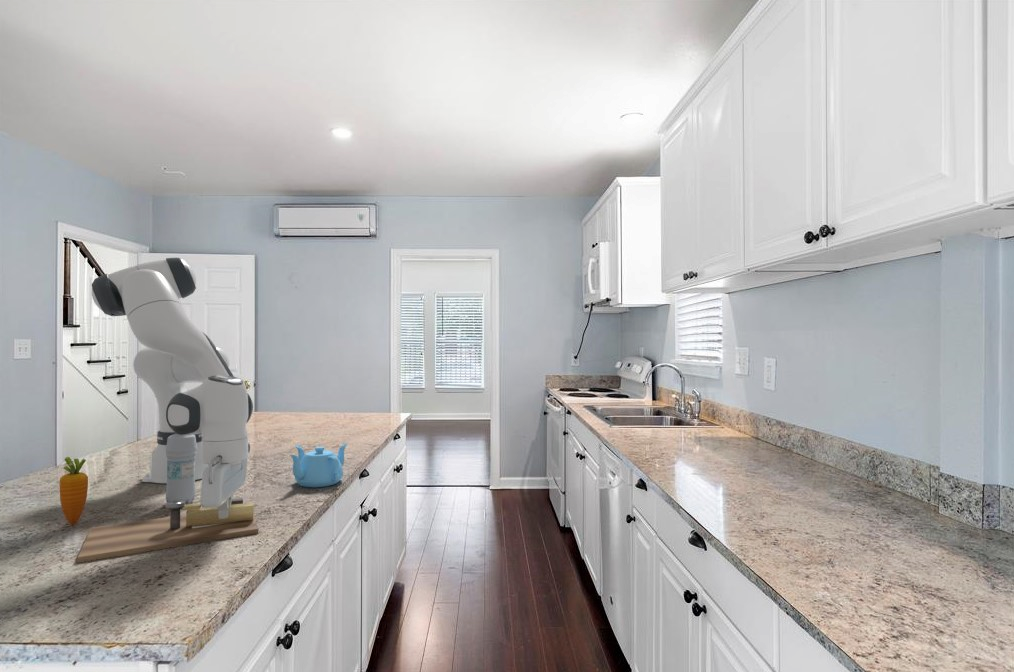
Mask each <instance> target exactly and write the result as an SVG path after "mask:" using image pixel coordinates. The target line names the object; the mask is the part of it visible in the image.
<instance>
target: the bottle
mask: <svg viewBox="0 0 1014 672" xmlns="http://www.w3.org/2000/svg"><path fill="white" fill-rule="evenodd" d="M174 433H175V432H174ZM196 450H197V444H196V437H195V435H179V434H177V433H175V434H173V435H171V436H169V437H168V439H167V445H166V457H167V483H166V488H165V489H166V490H165V502H166V503H168V502H171V501H177V500H184V501H186V504H192V502H193V501H195V498H196V480H195V455H196V453H197V452H196Z"/></svg>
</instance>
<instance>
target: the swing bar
mask: <svg viewBox="0 0 1014 672" xmlns="http://www.w3.org/2000/svg"><path fill="white" fill-rule="evenodd" d="M178 509H180V510H181V511H186V513H185V515H186V526H194V525H204V524H213V523H223V522H233V521H242V520H252V519H255V502H248V503H247V502H243V504H233V505H231V507H230V515H229V516H228V517H227V518H222V519H220V518H219V517H218V508H217V507H211V508H203V507H202V505H201V502H195V503H190V504H186V501H184V500H177V501H171V502H168V503H167V502H166V503H165V510H166V511H170V510H178Z"/></svg>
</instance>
